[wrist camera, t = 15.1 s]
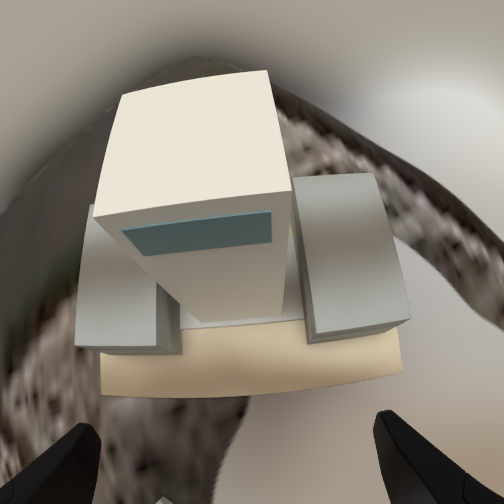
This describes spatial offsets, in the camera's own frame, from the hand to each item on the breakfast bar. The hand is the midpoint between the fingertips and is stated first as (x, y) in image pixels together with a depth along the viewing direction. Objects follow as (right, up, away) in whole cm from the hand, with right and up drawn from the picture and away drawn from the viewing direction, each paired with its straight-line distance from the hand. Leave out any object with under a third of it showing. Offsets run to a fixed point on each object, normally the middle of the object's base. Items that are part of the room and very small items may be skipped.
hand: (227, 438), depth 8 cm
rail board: (0, +3, +12) cm, 12 cm away
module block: (0, +4, +10) cm, 11 cm away
